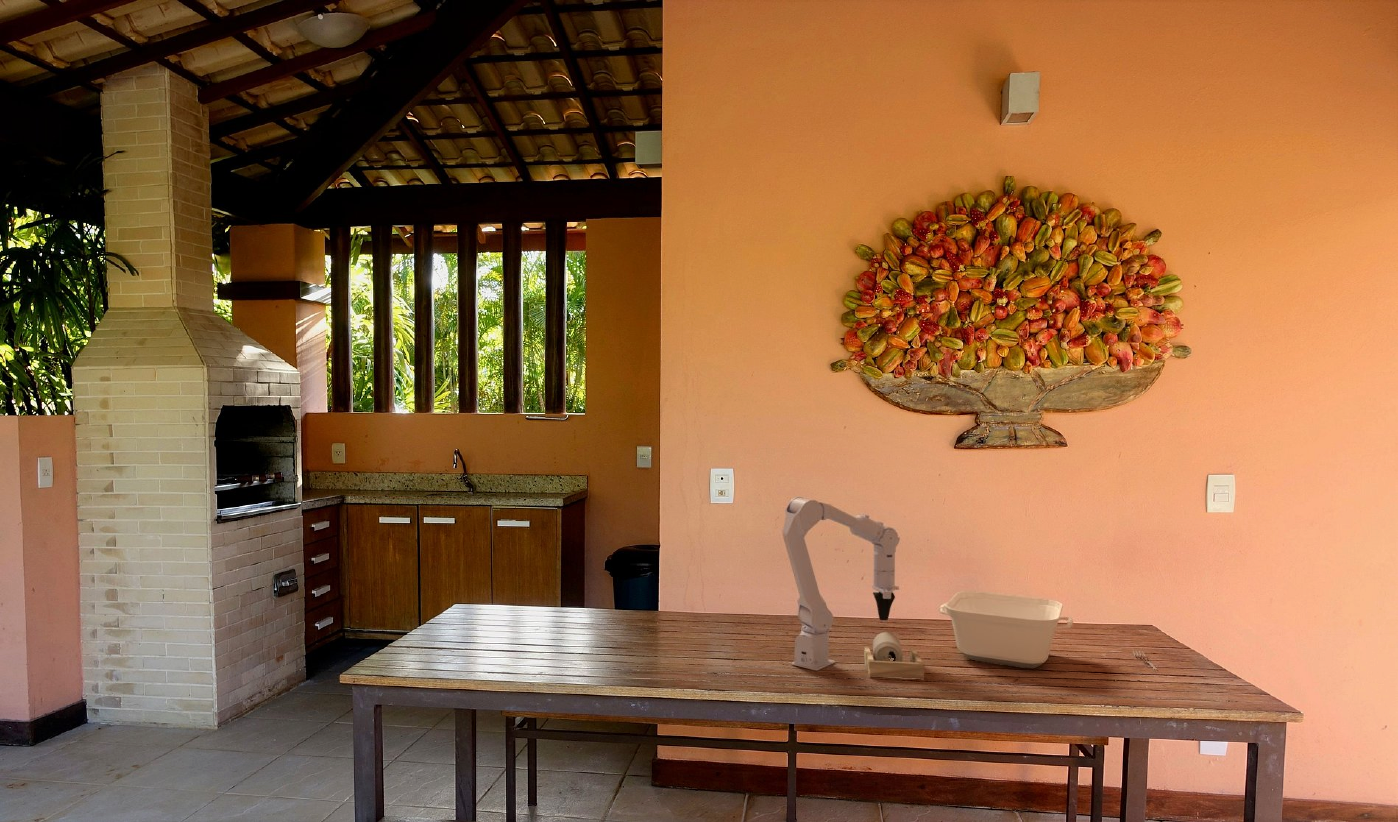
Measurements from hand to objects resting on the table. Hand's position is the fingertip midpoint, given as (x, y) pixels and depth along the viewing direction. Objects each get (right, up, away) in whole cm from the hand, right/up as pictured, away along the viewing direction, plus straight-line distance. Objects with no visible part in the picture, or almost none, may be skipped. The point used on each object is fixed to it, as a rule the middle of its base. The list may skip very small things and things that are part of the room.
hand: (883, 619), depth 214 cm
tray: (0, -10, -11) cm, 15 cm away
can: (+1, -7, -1) cm, 7 cm away
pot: (+34, -11, +1) cm, 35 cm away
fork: (+70, -12, -7) cm, 71 cm away
